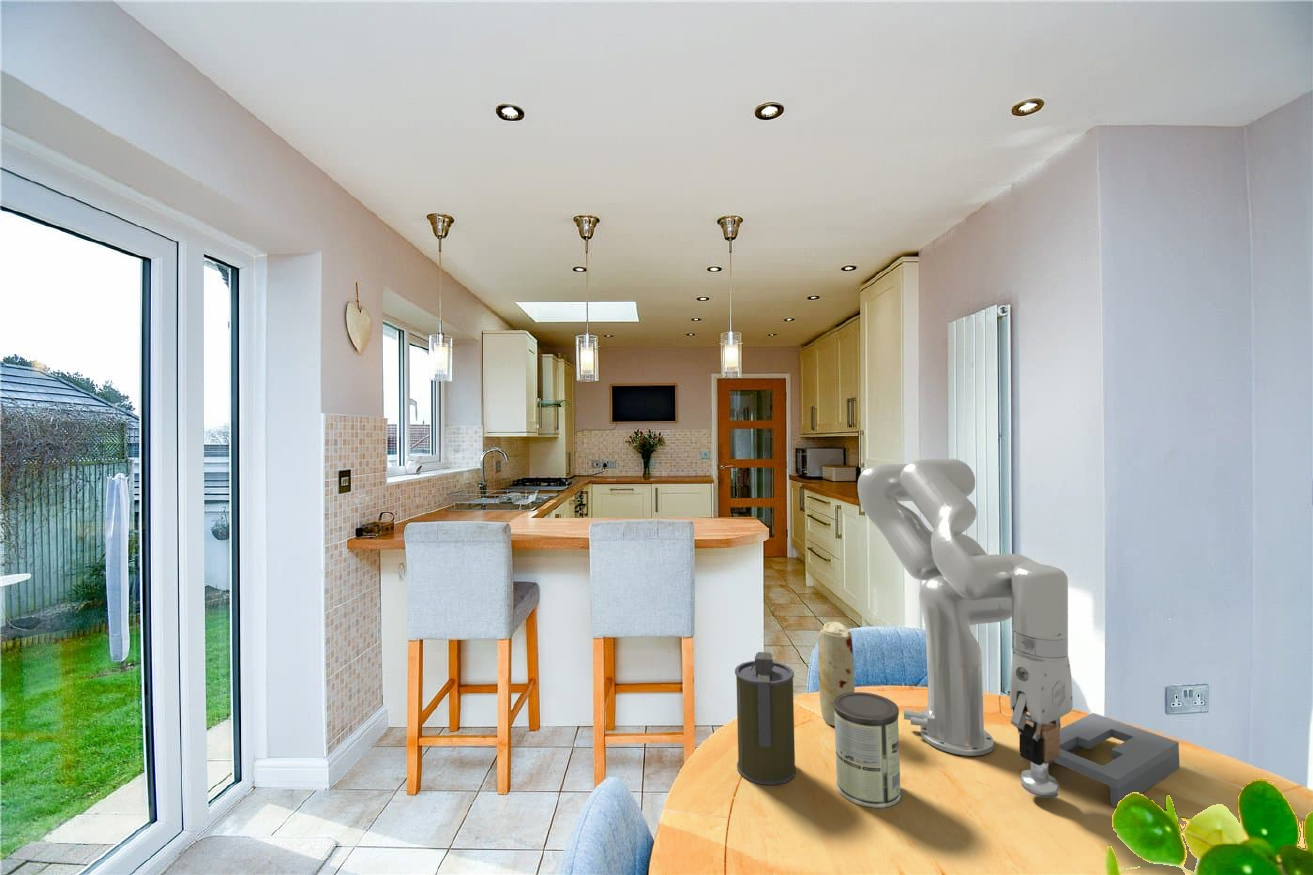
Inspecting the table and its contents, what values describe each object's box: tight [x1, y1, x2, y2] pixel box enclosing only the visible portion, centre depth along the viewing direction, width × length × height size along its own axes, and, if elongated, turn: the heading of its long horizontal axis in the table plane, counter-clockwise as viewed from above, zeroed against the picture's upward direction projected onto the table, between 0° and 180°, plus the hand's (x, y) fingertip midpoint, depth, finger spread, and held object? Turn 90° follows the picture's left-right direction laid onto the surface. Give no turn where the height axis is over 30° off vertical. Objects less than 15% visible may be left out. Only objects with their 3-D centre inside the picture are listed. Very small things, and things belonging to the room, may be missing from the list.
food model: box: [817, 621, 856, 727], centre depth 121 cm, size 10×7×20 cm
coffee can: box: [833, 691, 902, 809], centre depth 97 cm, size 10×10×14 cm
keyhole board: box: [1048, 712, 1180, 808], centre depth 101 cm, size 22×13×4 cm, turn 119°
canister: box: [734, 651, 797, 786], centre depth 103 cm, size 11×10×20 cm
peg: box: [1018, 720, 1061, 799], centre depth 93 cm, size 5×5×10 cm
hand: (1039, 755), depth 93 cm, fingers closed on peg, 4 cm apart
